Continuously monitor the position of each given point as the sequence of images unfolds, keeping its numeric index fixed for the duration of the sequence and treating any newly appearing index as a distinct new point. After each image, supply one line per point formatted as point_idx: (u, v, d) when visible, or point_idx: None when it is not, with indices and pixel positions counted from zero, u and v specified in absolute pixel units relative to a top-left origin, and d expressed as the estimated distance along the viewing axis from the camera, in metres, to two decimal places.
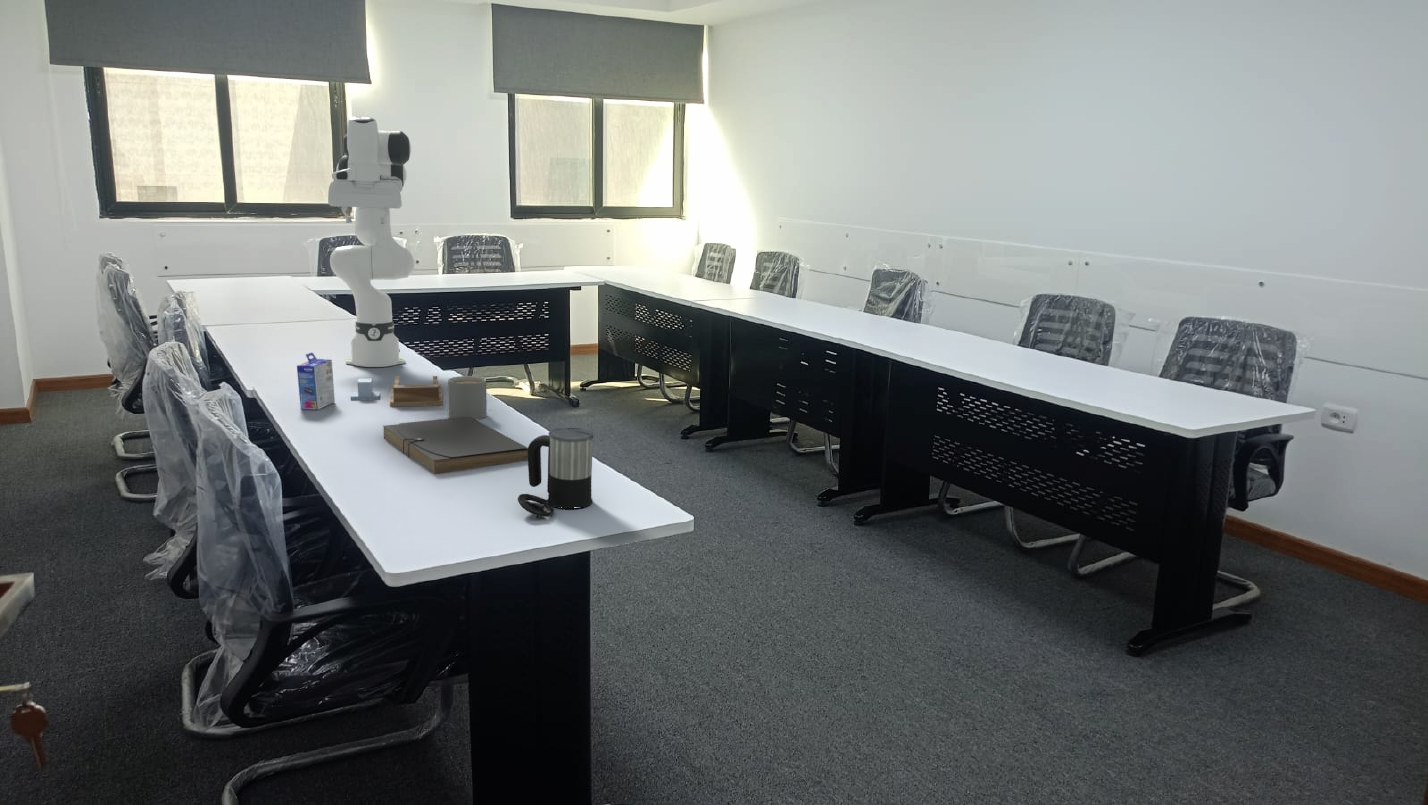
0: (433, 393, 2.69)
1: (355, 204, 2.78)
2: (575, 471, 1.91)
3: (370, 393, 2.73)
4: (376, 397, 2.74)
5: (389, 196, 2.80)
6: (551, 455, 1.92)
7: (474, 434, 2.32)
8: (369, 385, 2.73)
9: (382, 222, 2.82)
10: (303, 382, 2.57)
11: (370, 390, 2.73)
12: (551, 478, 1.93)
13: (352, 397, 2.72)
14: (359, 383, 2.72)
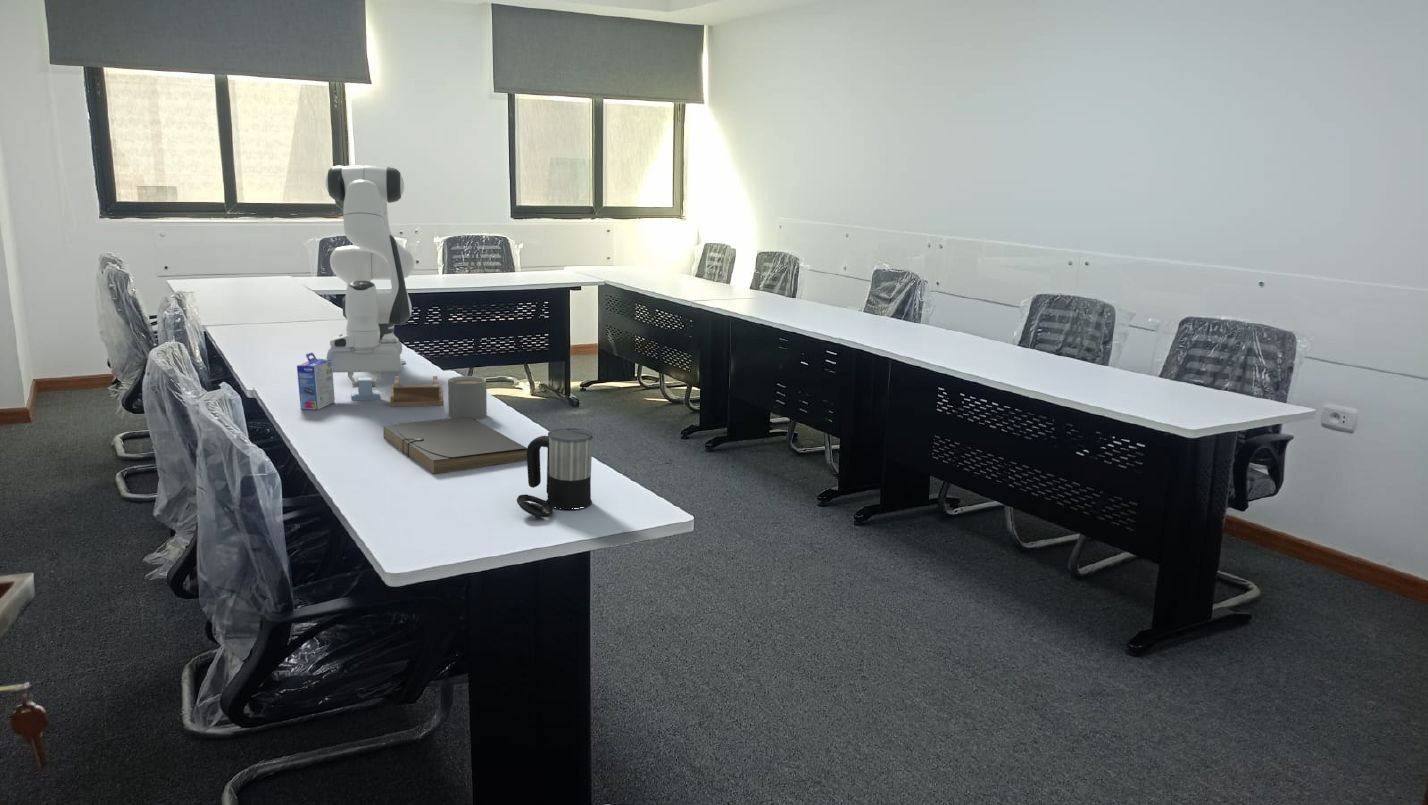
0: (433, 393, 2.69)
1: (354, 370, 2.71)
2: (574, 472, 1.91)
3: (371, 392, 2.73)
4: (377, 396, 2.74)
5: (388, 360, 2.73)
6: (550, 456, 1.92)
7: (474, 434, 2.32)
8: (370, 384, 2.73)
9: (373, 386, 2.75)
10: (303, 382, 2.57)
11: (371, 389, 2.73)
12: (550, 479, 1.93)
13: (353, 396, 2.71)
14: (360, 382, 2.72)
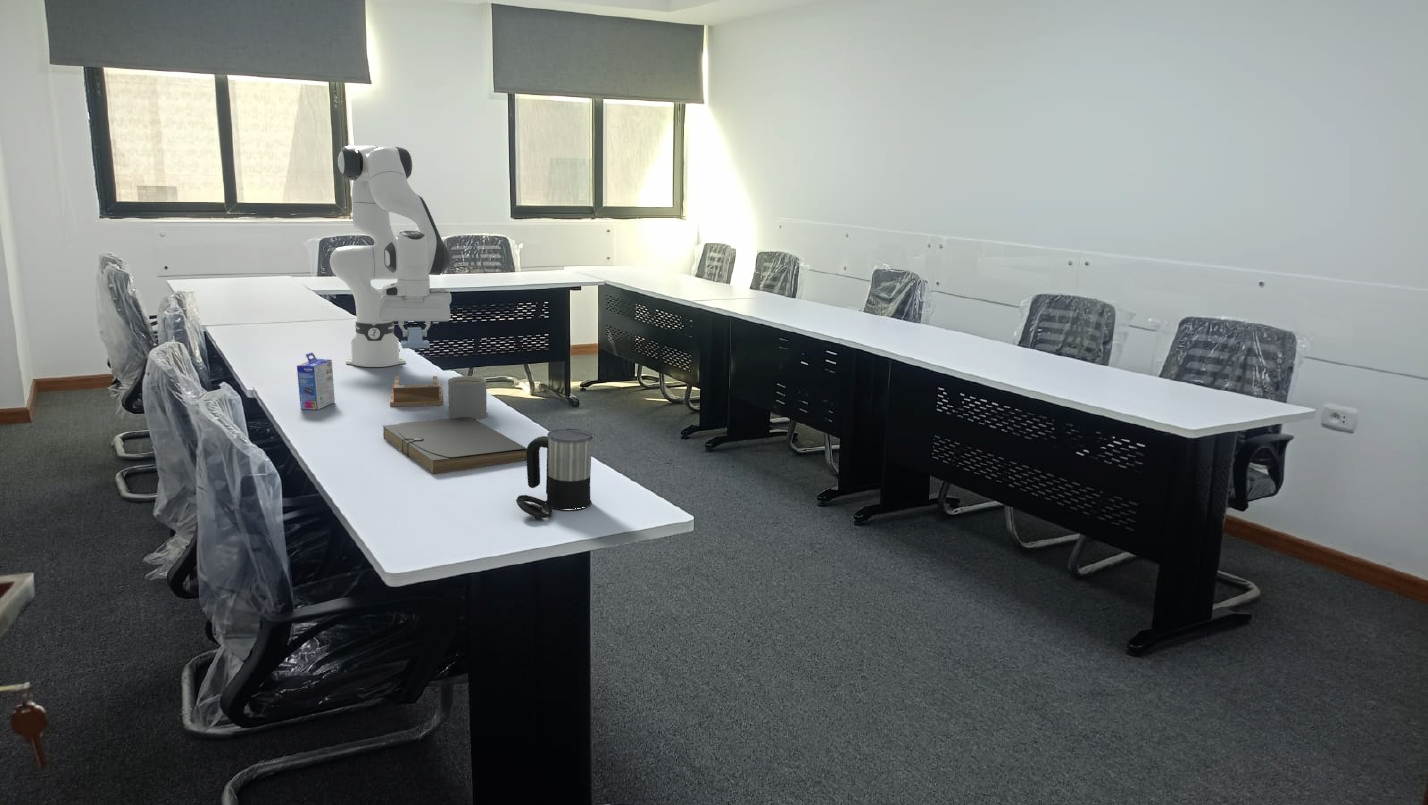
0: (433, 393, 2.69)
1: (404, 318, 2.76)
2: (573, 472, 1.90)
3: (421, 341, 2.78)
4: (427, 345, 2.78)
5: (438, 309, 2.78)
6: (550, 456, 1.91)
7: (473, 434, 2.32)
8: (420, 333, 2.77)
9: (423, 335, 2.79)
10: (303, 382, 2.57)
11: (421, 338, 2.78)
12: (550, 479, 1.92)
13: (404, 345, 2.76)
14: (410, 331, 2.76)
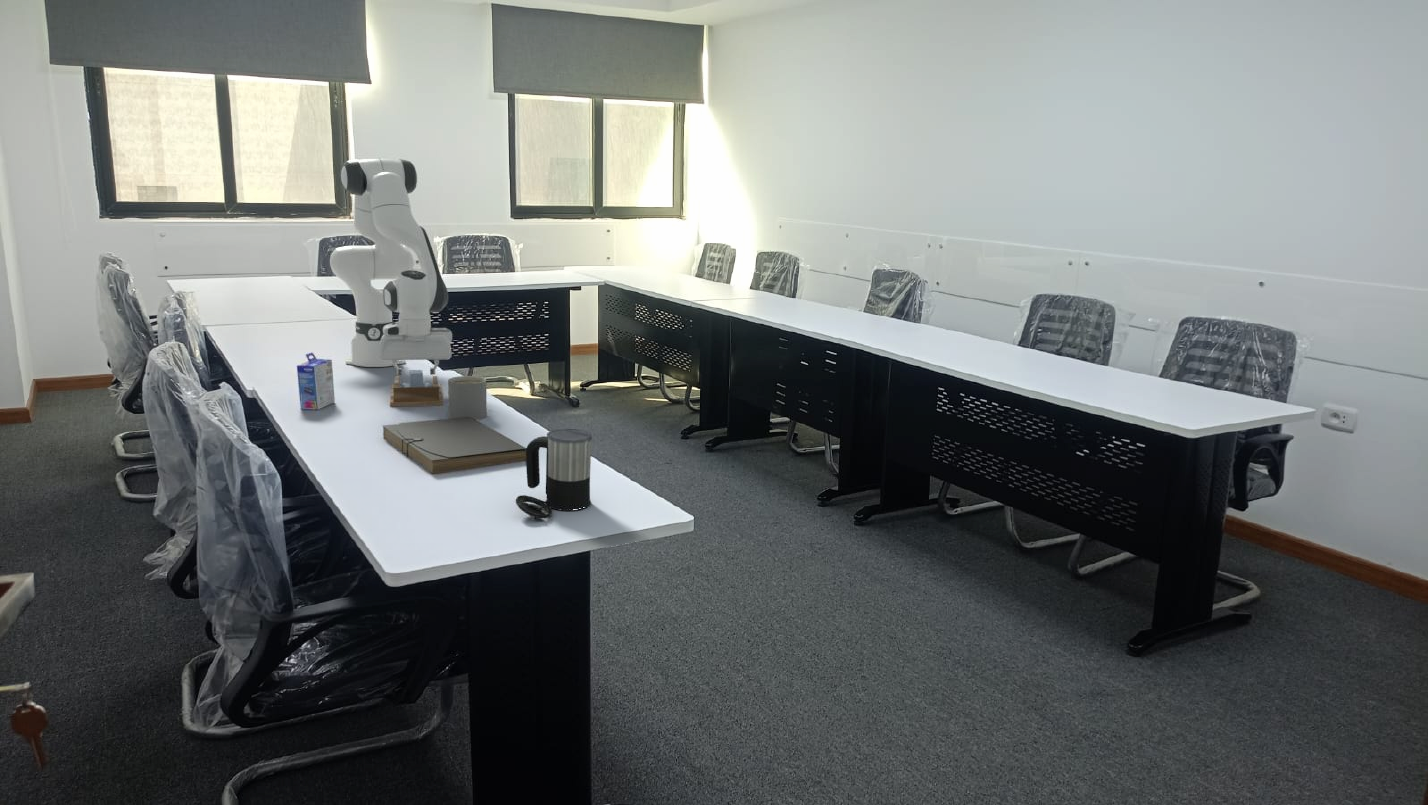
0: (433, 393, 2.69)
1: (406, 357, 2.78)
2: (573, 472, 1.90)
3: (421, 384, 2.81)
4: None
5: (439, 348, 2.81)
6: (549, 456, 1.91)
7: (473, 434, 2.32)
8: (421, 376, 2.80)
9: (432, 373, 2.83)
10: (303, 382, 2.57)
11: (421, 381, 2.81)
12: (549, 479, 1.92)
13: None
14: (411, 374, 2.79)
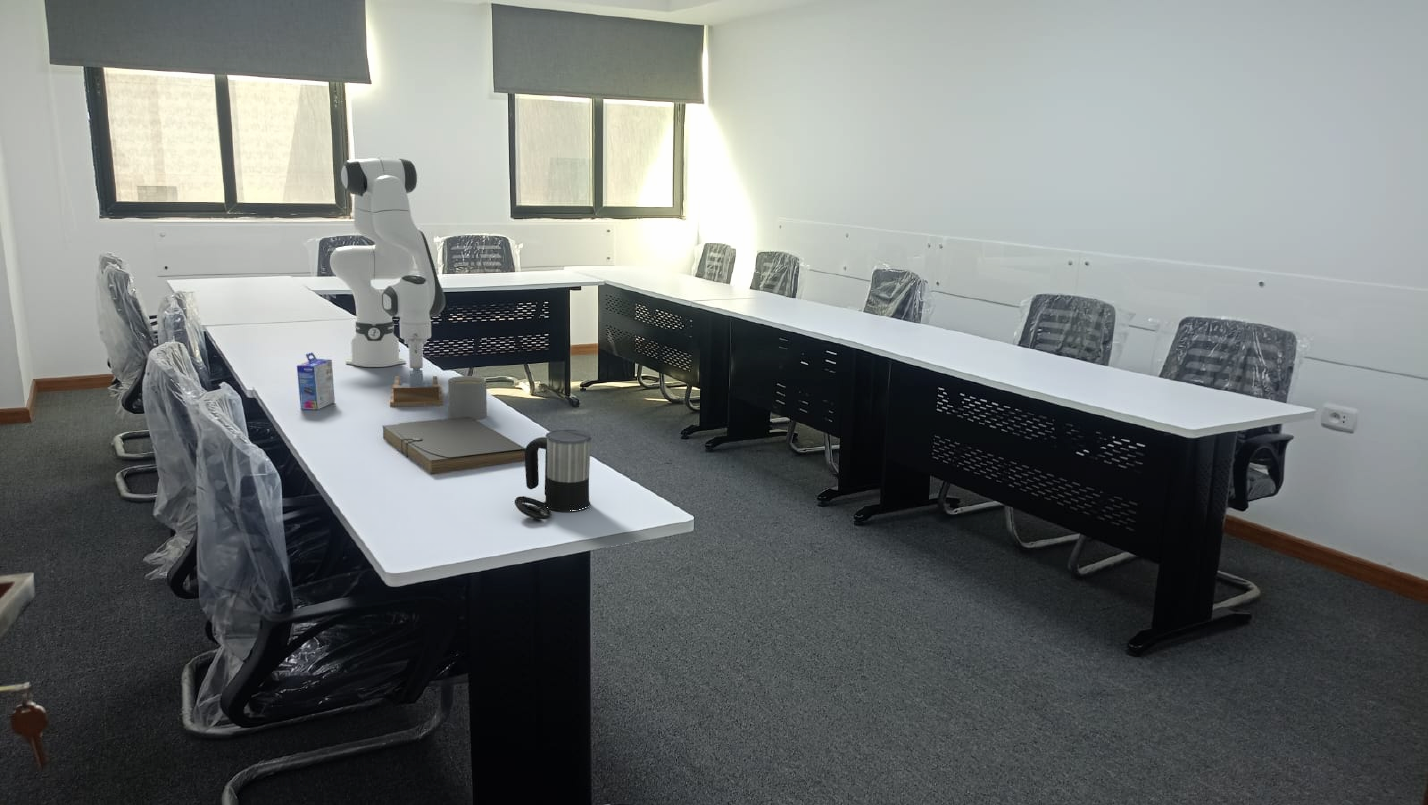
0: (433, 393, 2.69)
1: None
2: (572, 473, 1.90)
3: (421, 384, 2.81)
4: None
5: None
6: (548, 457, 1.91)
7: (473, 434, 2.31)
8: (421, 376, 2.80)
9: None
10: (303, 382, 2.57)
11: (421, 381, 2.80)
12: (548, 480, 1.92)
13: None
14: (411, 374, 2.79)
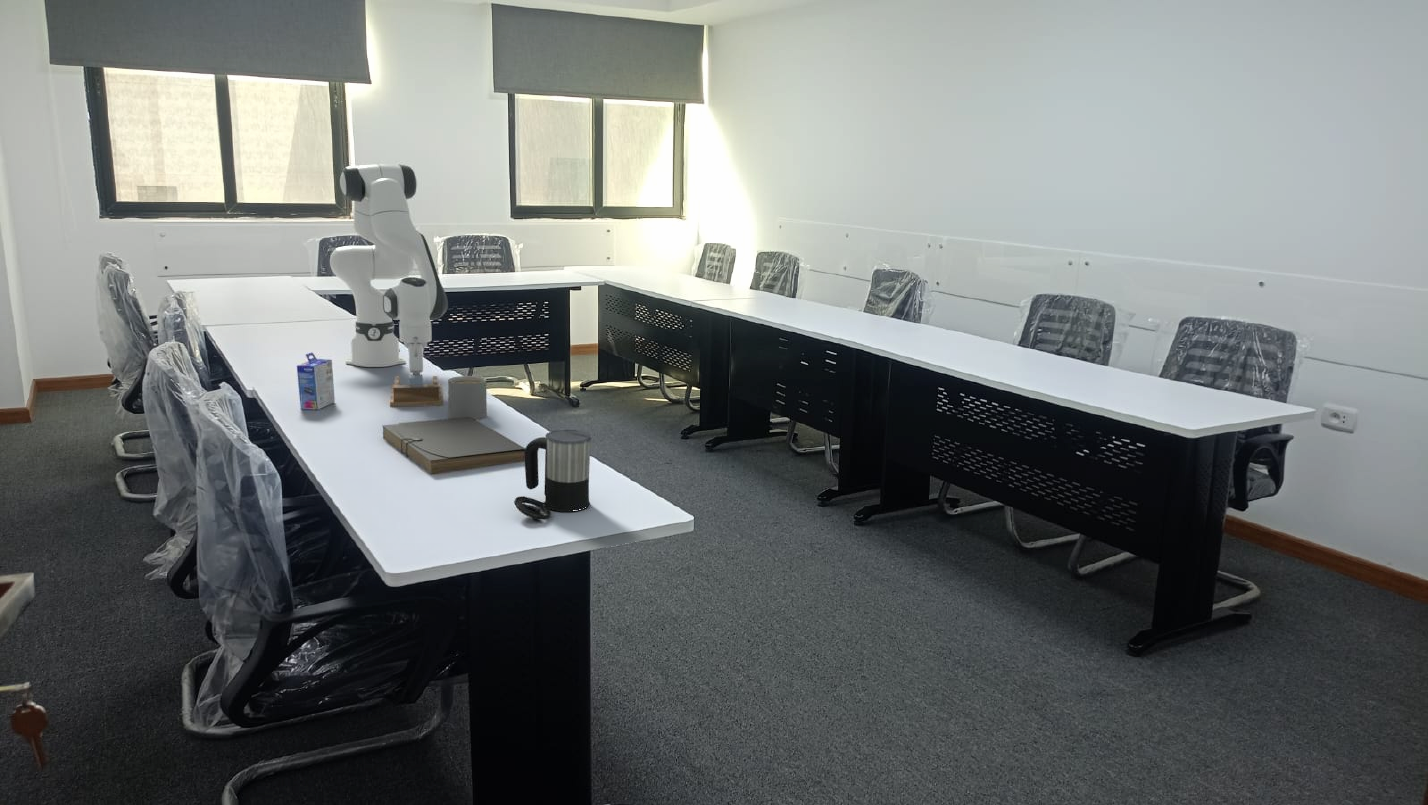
0: (433, 393, 2.69)
1: None
2: (572, 474, 1.89)
3: None
4: None
5: None
6: (548, 457, 1.91)
7: (473, 434, 2.31)
8: (420, 381, 2.74)
9: None
10: (303, 382, 2.57)
11: (421, 386, 2.75)
12: (548, 481, 1.92)
13: None
14: (411, 379, 2.73)
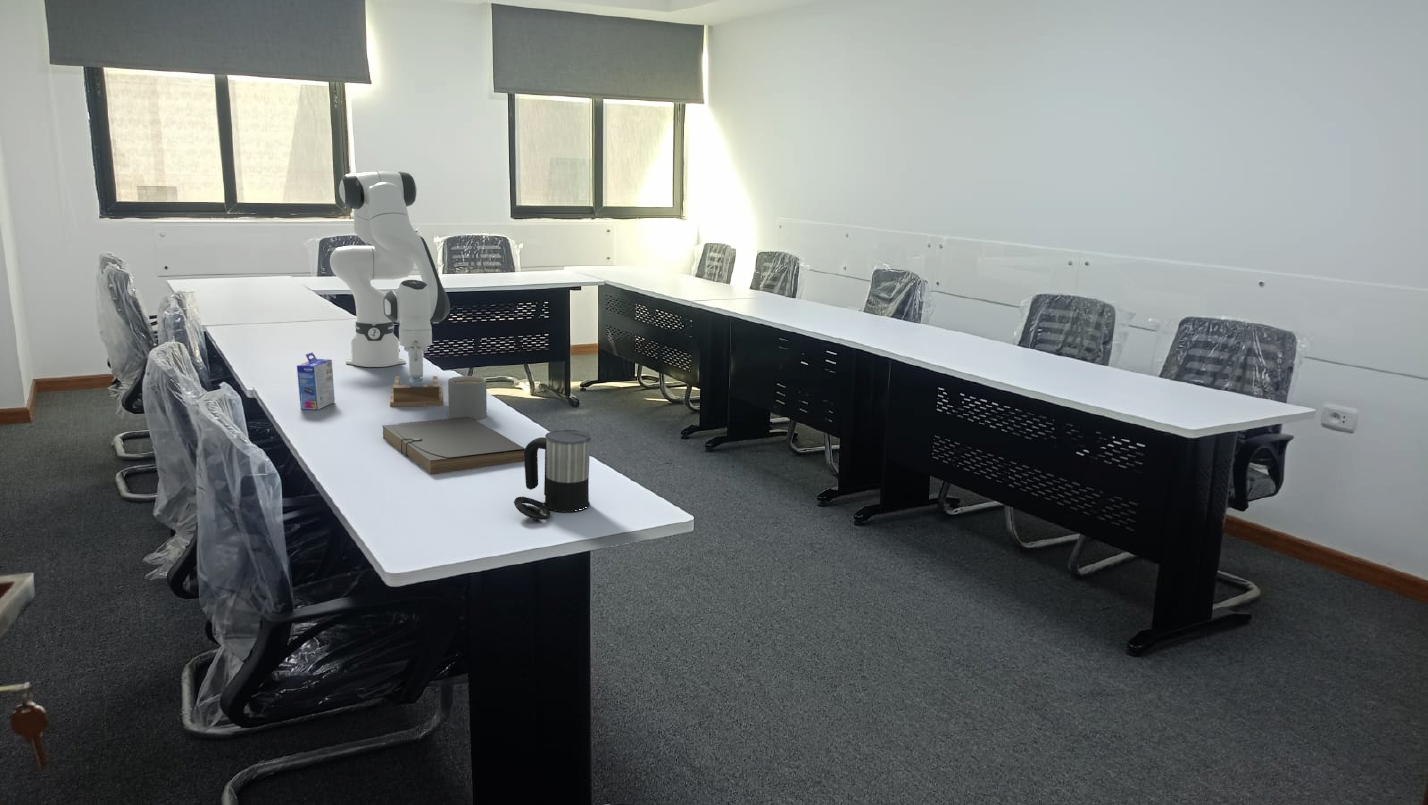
0: (433, 393, 2.69)
1: None
2: (571, 474, 1.89)
3: None
4: None
5: None
6: (548, 458, 1.90)
7: (473, 434, 2.31)
8: (420, 385, 2.69)
9: None
10: (303, 382, 2.57)
11: None
12: (548, 481, 1.91)
13: None
14: (411, 383, 2.68)
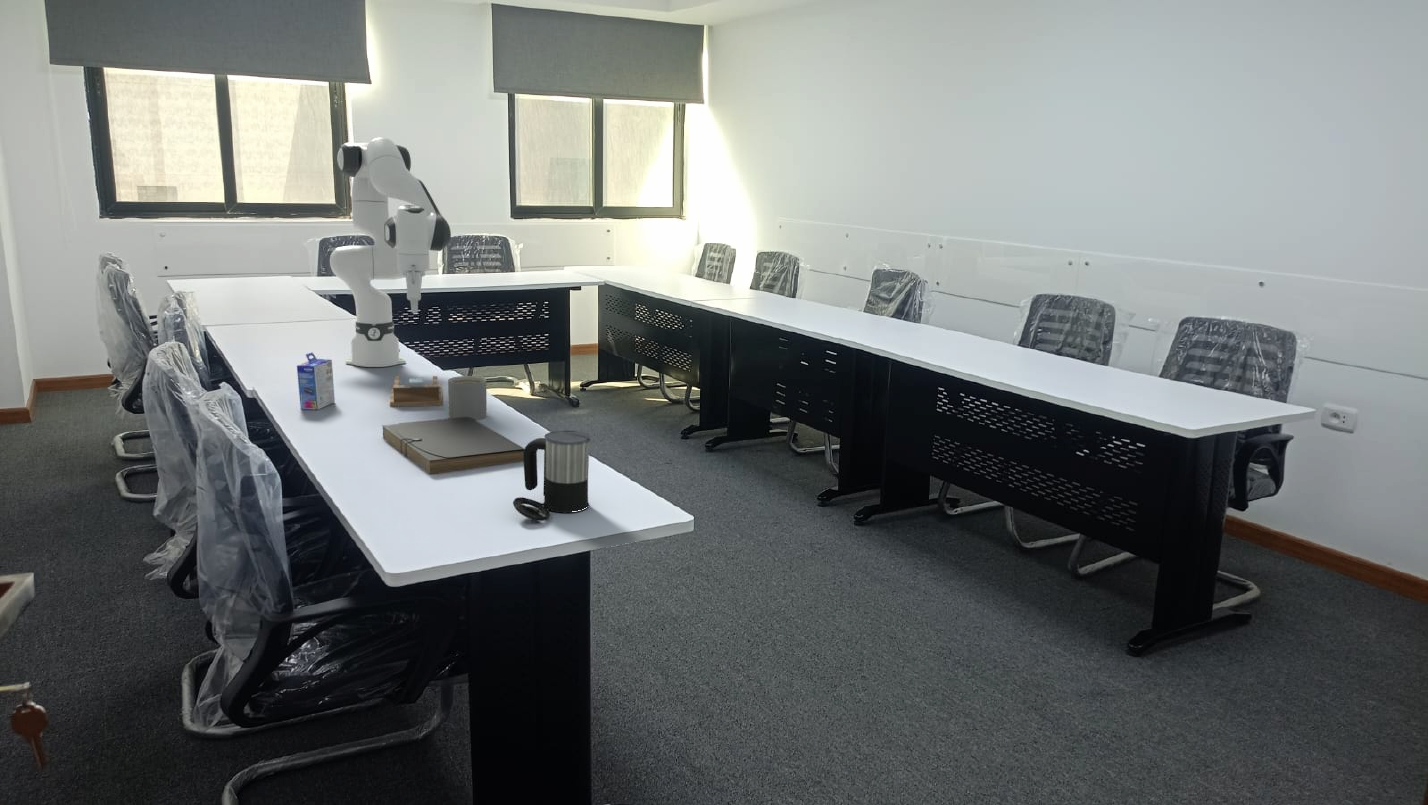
0: (433, 393, 2.69)
1: None
2: (571, 474, 1.89)
3: None
4: None
5: None
6: (547, 458, 1.90)
7: (472, 434, 2.31)
8: (420, 385, 2.69)
9: (411, 310, 2.76)
10: (303, 382, 2.57)
11: None
12: (547, 481, 1.91)
13: None
14: (411, 383, 2.68)
